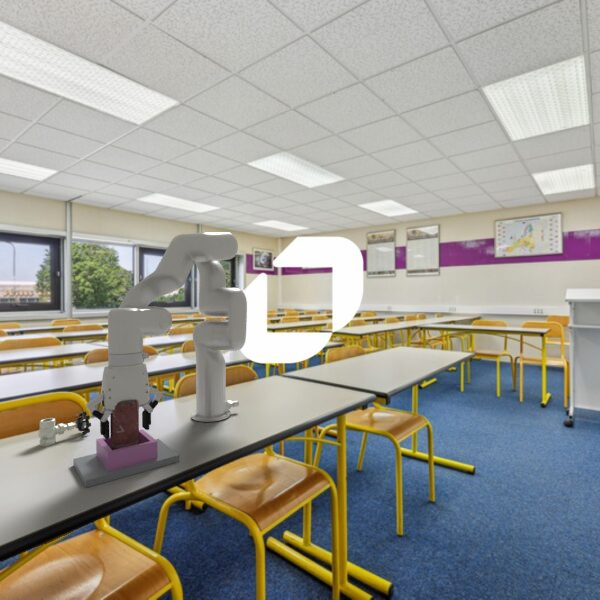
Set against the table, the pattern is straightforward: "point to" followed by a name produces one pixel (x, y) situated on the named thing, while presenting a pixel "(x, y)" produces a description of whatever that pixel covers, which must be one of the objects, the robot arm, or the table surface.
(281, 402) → the table surface
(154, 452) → the cup holder
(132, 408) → the can
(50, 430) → the valve
